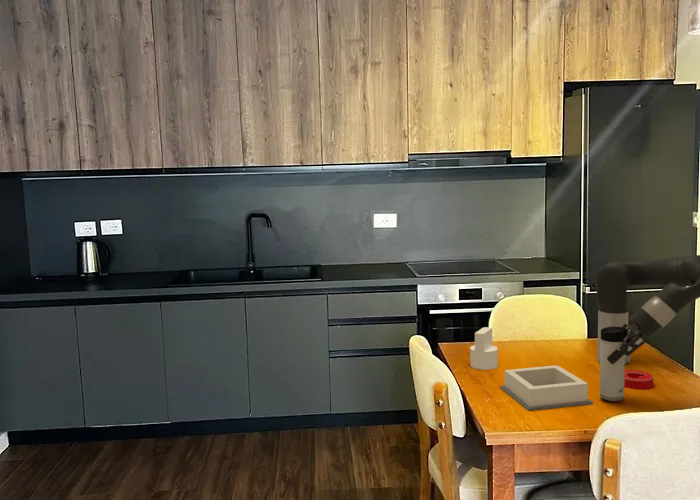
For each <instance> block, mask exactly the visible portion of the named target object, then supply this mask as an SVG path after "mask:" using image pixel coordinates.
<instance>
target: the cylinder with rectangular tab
mask: <svg viewBox="0 0 700 500" xmlns="http://www.w3.org/2000/svg"><path fill="white" fill-rule="evenodd" d="M498 354H499V353H498V347H497V346H496V345H493V327H488V326H487V327H486V326H485V327H482V328H480V329H479V330H478V331H475V332H474V344H473V345H471V346H470V349H469V355H470V356H469V361H470V363H469V364H470V367H471V368H473V369H476V370H483V371H484V370H487V371H488V370H494V369H497V368H498V366H499V363H498V362H499V361H498V357H499V356H498Z"/></svg>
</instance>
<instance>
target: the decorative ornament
mask: <svg viewBox="0 0 700 500" xmlns="http://www.w3.org/2000/svg"><path fill="white" fill-rule="evenodd" d="M654 378H655V377H654V376H653V375H652V373H649V372H647V371H644V370H643V371H642V370H638V369H624V388H626V389H630V390H641V391H642V390H643V391H644V390H649V389H652V388H653V387H654V380H655V379H654Z"/></svg>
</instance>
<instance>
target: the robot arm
mask: <svg viewBox="0 0 700 500" xmlns="http://www.w3.org/2000/svg"><path fill="white" fill-rule="evenodd" d="M638 285H639V286H640V285H656V286H663V288H662V289H661V290H659V292H658V293H657V294H656V295H654V296H653V297H651V298H650V299H648V301H646V302H645V303H644V304H643V305H641V307H639V308H638V309H637V310H636V311H635V312H634V313H633V314H632V315H630V317H629V311H630V310H629V306H630V305H629V302H628V299H627V297H628V296H627V294H628V293H627V292H628V291H627V290H628V288H627V287H631V286H638ZM699 298H700V255H699V254H695V255H690V256H677V257H669V258H661V259H656V260H648V261H610V262H608V263H606V264H605V265H603V266H601V267H600V268H599V270H598V272H597V275H596V302H597V309H598V311H597V323H598V324H597V361H598V362H599V363H600V341H601V340H600V338H601V329H603V328H606V327H625V328H626V331H625V336H624V338H623V339H622V341H621V344H620V346H619V347H618V348H617V349H616V350H615V351H614V352H613V353H612V354H611V355H610V356H608V357H607V360H608V361H609V362H610V363H611V364H614V363H615V362H617V361H618V360H619V359H620V358H621V357H622V356H625V365H626V364H627V363H631V355H632V354H634V353H635V352H636V351H637V350H638V349H639V348H641V347H642V346H643V345H644V344H645V343H646V341H645V340H644V339H643V338H644V337H645V335H646V336H647V337H648V338H653V337H654V336H655V335H656V334H658V333H659V332H660V331H661V330H662V329H663V328H664V327H665V326H666V325H668V323H671V321H672V320H673V318H675V316H676V315H677V314H678V313H679V312H681V311H682V310H683V309H684V308H685V307H687V306H688V305H689V304H690V303H692V302H694V301H695V300H697V299H699ZM629 320H630V321H631V322H632V324H630V325H629Z"/></svg>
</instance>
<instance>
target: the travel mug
mask: <svg viewBox="0 0 700 500" xmlns="http://www.w3.org/2000/svg"><path fill="white" fill-rule="evenodd" d="M625 331H626V328H625V327H606V328H603V329H601V338H600V340H601V341H600V362H599V397H600V398H602V400H606V401H610V402H619V401H622V400H624V399H625V387H624V370H626V369H625V367H626V366H625V365H626V364H625V356H622V357H621V358H620V359H619V360H618V361H617V362H615V363H614V364H611V363H610V362H609V361H608V360H607V357H608V356H610V355H611V354H612V353H613V352H614V351H615V350H616V349H617V348H618V347H619V346H620V344H621V341H622V339H623V338H624V336H625Z"/></svg>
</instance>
